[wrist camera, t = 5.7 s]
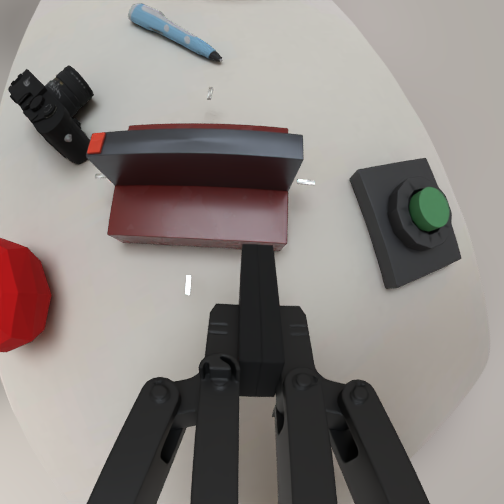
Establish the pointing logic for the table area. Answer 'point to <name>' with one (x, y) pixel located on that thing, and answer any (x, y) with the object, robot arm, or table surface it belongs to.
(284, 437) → the robot arm
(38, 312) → the apple
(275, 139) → the red-tipped grey slab
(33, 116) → the camera
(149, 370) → the table surface
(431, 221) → the green push button
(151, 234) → the red rectangular box
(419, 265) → the control block
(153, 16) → the pen
